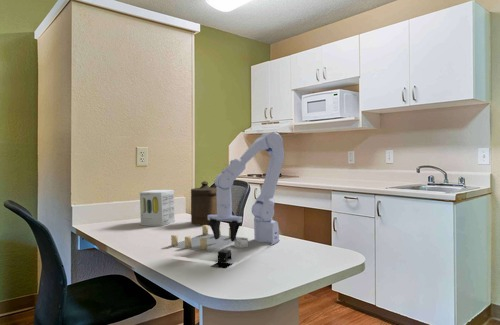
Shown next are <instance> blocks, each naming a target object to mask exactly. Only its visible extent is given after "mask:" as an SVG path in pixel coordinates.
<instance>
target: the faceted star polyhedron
mask: <svg viewBox="0 0 500 325" xmlns="http://www.w3.org/2000/svg"><path fill="white" fill-rule="evenodd" d="M240 237H241V238H235V239H234V242H233V247H234V248H238V249H239V248H240V249H242V248H248V247H249V238H248V237H242V236H240Z"/></svg>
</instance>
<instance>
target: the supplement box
mask: <svg viewBox="0 0 500 325" xmlns="http://www.w3.org/2000/svg"><path fill="white" fill-rule="evenodd" d="M139 205H140V207H139V208H140V209H139V210H140V226H148V227H150V226H152V227H164V226H167V225H169V224H172V223H174V222H176V220H175V191H174V189H152V190H150V189H149V190H144V191H140V192H139Z"/></svg>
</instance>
